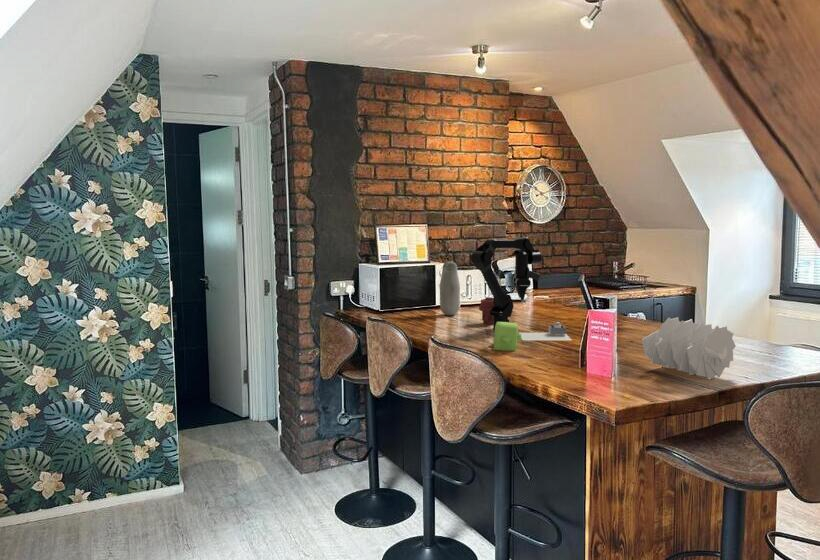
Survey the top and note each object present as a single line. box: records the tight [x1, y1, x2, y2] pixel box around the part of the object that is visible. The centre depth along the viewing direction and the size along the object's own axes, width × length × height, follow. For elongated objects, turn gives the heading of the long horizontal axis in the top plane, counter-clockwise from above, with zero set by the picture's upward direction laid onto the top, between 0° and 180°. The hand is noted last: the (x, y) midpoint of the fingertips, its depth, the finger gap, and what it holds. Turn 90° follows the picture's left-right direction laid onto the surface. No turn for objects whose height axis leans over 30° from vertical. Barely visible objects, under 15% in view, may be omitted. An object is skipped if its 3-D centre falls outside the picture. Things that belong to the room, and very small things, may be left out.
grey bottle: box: [439, 260, 461, 317], centre depth 334 cm, size 10×10×28 cm
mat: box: [518, 332, 573, 342], centre depth 273 cm, size 20×17×1 cm
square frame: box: [547, 324, 567, 334], centre depth 277 cm, size 7×7×2 cm
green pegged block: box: [493, 321, 522, 352], centre depth 252 cm, size 18×10×10 cm, turn 168°
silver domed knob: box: [550, 321, 565, 336], centre depth 277 cm, size 6×6×5 cm
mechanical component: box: [478, 296, 494, 326], centre depth 309 cm, size 12×10×10 cm
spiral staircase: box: [641, 317, 737, 380], centre depth 210 cm, size 18×18×25 cm
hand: (521, 298), depth 298 cm, fingers open, 9 cm apart
